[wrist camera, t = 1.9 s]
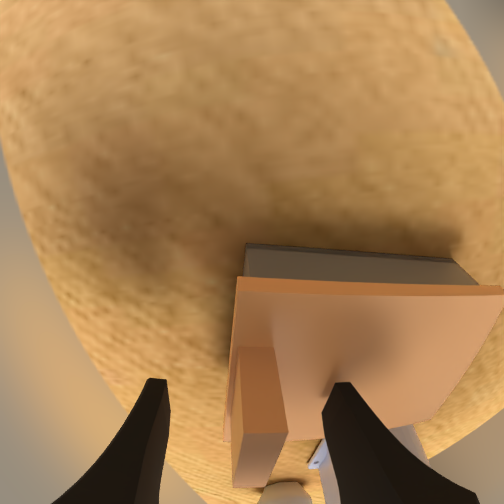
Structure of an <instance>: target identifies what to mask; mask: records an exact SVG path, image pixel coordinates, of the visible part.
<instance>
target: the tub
mask: <svg viewBox="0 0 504 504" xmlns="http://www.w3.org/2000/svg"><path fill="white" fill-rule="evenodd" d="M242 277H258V278H276V279H295V280H316V281H338V282H364V283H393V284H429V285H479V284H478V283H477V282H476V281H475V280H474V279H473V278H472V277H471V276H470V275H469V274H468V273H467V272H466V271H465V270H464V269H463V268H461V267H460V266H459V265H458V264H457V263H456V262H455V261H454V260H453V259H447V258H435V257H423V256H410V255H398V254H385V253H372V252H359V251H346V250H333V249H319V248H306V247H292V246H278V245H264V244H250V243H246V249H245V258H244V267H243V276H242Z"/></svg>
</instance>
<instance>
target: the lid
mask: <svg viewBox="0 0 504 504" xmlns="http://www.w3.org/2000/svg"><path fill="white" fill-rule="evenodd" d="M503 307H504V289H503V288H502V287H501V286H488V285H429V284H393V283H364V282H338V281H316V280H295V279H276V278H258V277H241V276H237V285H236V295H235V306H234V316H233V326H232V337H231V347H230V358H229V369H228V379H227V390H226V402H225V413H224V424H223V442H231V458H232V482H233V488H254V487H265V486H266V484H267V482H268V479H269V477H270V475H271V473H272V471H273V468H274V466H275V464H276V461H277V459H278V457H279V455H280V452H281V450H282V447H283V445H284V443H285V441H299V440H312V439H323V438H325V436H324V429H323V422H322V414H321V412H322V410H323V408H324V406H325V404H326V402H327V400H328V397H329V395H330V393H331V391H332V389H333V386H334V384H335V383H337V382H351V384H352V385H353V386H354V387H355V389H356V390H357V391H358V393H359V394H360V395H361V397H362V398H363V399H364V400H365V402H366V403H367V404H368V406H369V407H370V408H371V409H372V411H373V412H374V413H375V414H376V416H377V417H378V418H379V419H380V420H381V421H382V423H383V424H384V425H385V426H386V427H387V428H388V429H391V428H396V427H401V426H406V425H411V424H415V423H419V422H423V421H427V420H431V418H432V417H433V416H434V415H435V413H436V412H437V411H438V410H439V408H440V407H441V406H442V404H443V403H444V402H445V400H446V399H447V398H448V396H449V395H450V394H451V392H452V391H453V389H454V388H455V387H456V385H457V384H458V382H459V381H460V379H461V378H462V377H463V375H464V374H465V372H466V371H467V369H468V368H469V366H470V364H471V363H472V361H473V360H474V358H475V357H476V355H477V353H478V352H479V350H480V348H481V347H482V345H483V343H484V342H485V340H486V338H487V337H488V335H489V333H490V331H491V329H492V328H493V326H494V324H495V322H496V320H497V318H498V317H499V315H500V313H501V311H502V309H503Z"/></svg>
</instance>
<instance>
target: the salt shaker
mask: <svg viewBox="0 0 504 504" xmlns="http://www.w3.org/2000/svg"><path fill="white" fill-rule="evenodd" d="M257 504H312V499H311V497H310V495H309V494H308V493H307V492H306V491H305V490H304V489H303V487H302V486H301V485H300V484H299V483H298V482H278V483H275V484H272V485H269V486H265V488H264V491H263V493H262V495H261V497H260V499H259V501H258V503H257Z"/></svg>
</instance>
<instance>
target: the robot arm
mask: <svg viewBox="0 0 504 504" xmlns="http://www.w3.org/2000/svg"><path fill="white" fill-rule="evenodd" d="M170 413H171V410H170V403H169V395H168V388H167V380H166V379H156V378H149V379H147V381H146V383H145V386H144V388H143V390H142V392H141V394H140V396H139V398H138V400H137V402H136V403H135V405H134V407H133V409H132V410H131V412H130V414H129V415H128V417H127V419H126V420H125V422H124V424H123V425H122V427H121V428H120V430H119V431H118V433H117V434H116V436H115V437H114V438H113V440H112V441H111V443H110V444H109V446H108V447H107V448H106V450H105V451H104V452H103V453H102V455H101V456H100V457H99V458H98V459H97V461H96V462H95V463H94V464H93V465H92V466H91V467H90V469H89V470H88V471H87V472H86V473H85V474H84V475H83V476H82V477H81V478H80V479H79V480H78V481H77V482H76V483H75V484H74V485H73V486H72V487H71V488H69V489H68V490H67V491H66V492H65V493H64V494H63V495H61V496H60V497H59V498H58V499H57V500H55V501H54V502H53V503H52V504H159V490H160V482H161V476H162V470H163V465H164V459H165V454H166V448H167V443H168V437H169V426H170ZM321 414H322V422H323V429H324V436H325V438H323V440H322V441H321V443H320V445H319V446H318V448H317V450H316V451H315V453H314V455H313V456H312V458H311V460H310V461H309V463H308V465H307V466H308V468H309V469H316V468H318V469H319V474H320V478H321V483H322V488H323V493H324V497H325V502H326V504H480V503H479V500H478V498H477V496H476V494H475V493H474V492H472V491H470V490H468V489H465V488H463V487H461V486H459V485H457V484H455V483H453V482H452V481H450V480H448V479H447V478H445V477H443V476H442V475H440V474H438V473H437V472H436V471H434V470H433V469H432V468H431V466H430V464H429V461H428V459H427V456H426V454H425V452H424V449H423V447H422V445H421V442H420V440H419V438H418V435H417V433H416V431H415V428H414V426H413V424H411V425H406V426H401V427H396V428H391V429H388V428H387V427H386V426H385V425H384V424H383V423H382V421H381V420H380V419H379V418H378V417H377V416H376V414H375V413H374V412H373V411H372V409H371V408H370V407H369V406H368V404H367V403H366V402H365V400H364V399H363V398H362V397H361V395H360V394H359V393H358V391H357V390H356V389H355V387H354V386H353V385H352V384H351V382H337V383H335V384H334V386H333V389H332V391H331V393H330V395H329V397H328V400H327V402H326V404H325V406H324V408H323V410H322V412H321Z"/></svg>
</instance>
